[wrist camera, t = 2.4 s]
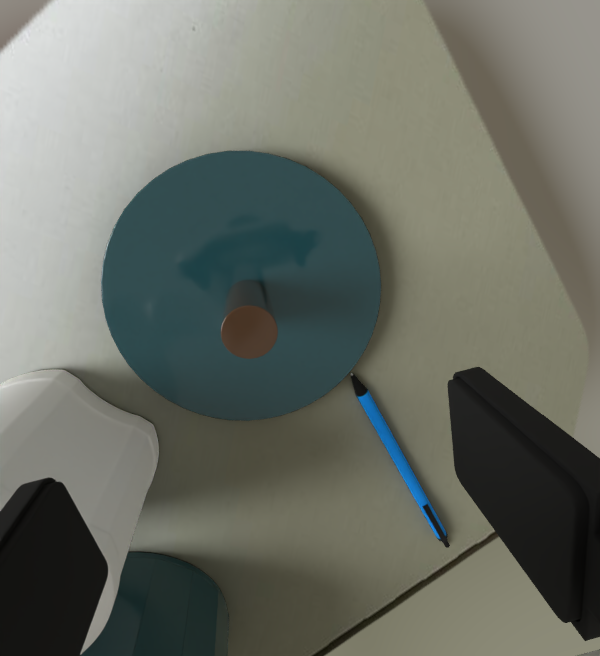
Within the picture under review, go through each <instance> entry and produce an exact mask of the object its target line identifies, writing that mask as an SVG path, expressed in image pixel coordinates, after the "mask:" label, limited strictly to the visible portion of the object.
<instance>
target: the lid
mask: <svg viewBox="0 0 600 656" xmlns="http://www.w3.org/2000/svg"><path fill="white" fill-rule="evenodd" d="M101 291H102V303H103V308H104V313H105V318H106V321H107V324H108V327H109V330H110V332H111V335H112V337H113V339H114V341H115V343H116V345H117V347H118V349H119V351H120V353H121V354H122V356H123V357H124V359H125V360H126V362H127V363H128V364H129V366H130V367H131V368H132V369H133V370H134V372H135V373H136V374H137V375H138V376H139V377H140V378H141V379H142V380H143V381H144V382H145V383H146V384H147V385H148V386H150V387H151V388H152V389H153V390H154V391H156V392H157V393H159V394H160V395H161V396H163V397H164V398H166V399H167V400H169V401H171V402H173V403H175V404H177V405H179V406H180V407H182V408H185V409H187V410H190V411H193V412H195V413H198V414H201V415H205V416H209V417H213V418H218V419H226V420H243V421H249V420H260V419H267V418H272V417H277V416H281V415H284V414H287V413H290V412H293V411H296V410H298V409H300V408H302V407H305V406H307V405H309V404H311V403H312V402H314V401H316V400H317V399H319V398H321V397H322V396H324V395H325V394H326V393H328V392H329V391H330V390H332V389H333V388H334V387H335V386H336V385H338V384H339V383H340V382H341V381H342V380H343V379H344V378H345V377H346V376H347V375H348V373H349V372H350V371H351V370H352V368H353V367H354V366H355V365H356V363H357V362H358V360H359V359H360V357H361V355H362V354H363V352H364V351H365V349H366V347H367V345H368V342H369V340H370V338H371V336H372V334H373V330H374V327H375V324H376V321H377V317H378V312H379V306H380V297H381V278H380V267H379V262H378V258H377V253H376V250H375V247H374V244H373V241H372V238H371V236H370V233H369V231H368V229H367V228H366V226H365V224H364V222H363V220H362V218H361V217H360V215H359V214H358V212H357V211H356V209H355V208H354V207H353V205H352V204H351V203H350V201H349V200H348V199H347V198H346V197H345V196H344V195H343V194H342V193H341V192H340V191H339V190H338V189H337V188H336V187H335V186H334V185H332V184H331V183H330V182H329V181H327V180H326V179H325V178H324V177H322V176H321V175H319V174H317V173H316V172H314V171H312V170H311V169H309V168H308V167H306V166H303V165H301V164H299V163H297V162H294V161H292V160H290V159H287V158H283V157H280V156H276V155H273V154H269V153H262V152H254V151H224V152H217V153H211V154H206V155H202V156H199V157H196V158H193V159H189V160H187V161H184V162H182V163H180V164H178V165H176V166H174V167H172V168H170V169H168V170H166V171H165V172H163V173H162V174H160V175H159V176H157V177H156V178H154V179H153V180H152V181H151V182H149V183H148V184H147V185H146V186H145V187H144V188H143V189H142V190H141V191H140V192H138V193H137V194H136V196H135V197H134V198H133V199H132V201H131V202H130V203H129V204H128V206H127V207H126V208H125V209H124V211H123V213H122V214H121V216H120V218H119V219H118V221H117V223H116V224H115V226H114V229H113V231H112V233H111V236H110V238H109V241H108V243H107V247H106V251H105V255H104V259H103V265H102V276H101Z"/></svg>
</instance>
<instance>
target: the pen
mask: <svg viewBox="0 0 600 656" xmlns="http://www.w3.org/2000/svg"><path fill="white" fill-rule="evenodd" d="M350 374H351V379H352V383H353V386H354V389H355V393H356V396H357V398H358V400H359V401H360V403H361V405H362V407H363V408H364V410H365V412H366V414H367V415H368V417H369V419H370V421H371V422H372V424H373V426H374V428H375V429H376V431H377V433H378V435H379V436H380V438H381V440H382V442H383V444H384V445H385V447H386V449H387V451H388V452H389V454H390V456H391V458H392V459H393V461H394V463H395V465H396V466H397V468H398V470H399V472H400V473H401V475H402V477H403V479H404V481H405V482H406V484H407V486H408V488H409V489H410V491H411V493H412V495H413V496H414V498H415V500H416V502H417V503H418V505H419V507H420V509H421V510H422V512H423V514H424V516H425V518H426V519H427V521H428V523H429V525H430V526H431V528H432V530H433V532H434V533H435V535H436V537H437V539H438V540H439V541H442V542H443V543H444V545H445V547H447V548H448V547H449V546H450V545H449V543H448V541H447V533H446V531H445V529H444V527H443V526H442V524H441V522H440V520H439V518H438V517H437V515H436V513H435V511H434V509H433V507H432V506H431V504H430V502H429V500H428V498H427V497H426V495H425V493H424V491H423V489H422V487H421V486H420V484H419V482H418V480H417V478H416V477H415V475H414V473H413V471H412V469H411V467H410V466H409V464H408V462H407V460H406V458H405V457H404V455H403V453H402V451H401V449H400V447H399V446H398V444H397V442H396V440H395V438H394V437H393V435H392V433H391V431H390V429H389V427H388V426H387V424H386V422H385V420H384V418H383V417H382V415H381V413H380V411H379V409H378V407H377V406H376V404H375V402H374V400H373V398H372V397H371V395H370V393H369V391H368V389H367V388H366V387H365V386H364V385H363V384H362V383H361V382H360V381H359V379H358V378H357V377H356V376H355V375H354V374H352V373H350Z"/></svg>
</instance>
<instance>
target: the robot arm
mask: <svg viewBox="0 0 600 656" xmlns="http://www.w3.org/2000/svg"><path fill="white" fill-rule="evenodd" d="M448 396H449V407H450V419H451V431H452V442H453V454H454V466H455V471H456V474H457V477H458V479H459V481H460V483H461V484H462V486H463V487H464V488H465V490H466V491H467V492H468V494H469V495H470V497H471V498H472V499H473V501H474V502H475V504H476V505H477V506H478V508H479V509H480V510H481V512H482V513H483V515H484V516H485V517H486V519H487V520H488V521H489V523H490V524H491V526H492V527H493V528H494V530H495V531H496V533H497V534H498V535H499V537H500V538H501V539H502V541H503V542H504V543H505V545H506V546H507V548H508V549H509V551H510V552H511V553H512V555H513V556H514V557H515V559H516V560H517V562H518V563H519V564H520V566H521V567H522V569H523V570H524V571H525V572H526V574H527V575H528V577H529V578H530V580H531V581H532V582H533V584H534V585H535V587H536V588H537V589H538V591H539V592H540V593H541V595H542V596H543V598H544V599H545V600H546V602H547V603H548V605H549V606H550V607H551V608H552V610H553V611H554V613H555V614H556V615H557V616H558V618H559V619H560V620H561V621H563V622H565V623H567V622H571V623H572V624H573V626H574V627H575V628H576V630H577V631H578V632H579V634H580V635H581V636H582V638H583V639H584V640H585V641H587V640H590V639H593V638H597V637H600V458H598V457H597V456H596V455H595V454H593V453H592V452H591V451H589V450H588V449H587V448H585V447H584V446H583V445H582V444H580V443H579V442H578V441H576V440H575V439H574V438H572V437H571V436H570V435H569V434H567V433H566V432H565V431H563V430H562V429H561V428H559V427H558V426H557V425H555V424H554V423H553V422H552V421H550V420H549V419H548V418H546V417H545V416H544V415H542V414H541V413H539V412H538V411H537V410H535V409H534V408H533V407H531V406H530V405H529V404H528V403H526V402H525V401H524V400H522V399H521V398H520V397H518V396H517V395H516V394H515V393H513V392H512V391H511V390H509V389H508V388H507V387H506V386H504V385H503V384H502V383H500V382H499V381H498V380H496V379H495V378H494V377H493V376H491V375H490V374H489V373H487V372H486V371H485V370H483V369H482V368H480V367H475V368H471V369H467V370H463V371H460V372H456V373H455V374H454V376H453V380H449V381H448ZM107 577H108V564H107V561H106V559H105V557H104V556H103V554H102V552H101V550H100V548H99V546H98V545H97V543H96V541H95V539H94V537H93V536H92V534H91V532H90V530H89V528H88V527H87V525H86V523H85V521H84V519H83V518H82V516H81V514H80V512H79V510H78V509H77V507H76V505H75V503H74V501H73V499H72V498H71V496H70V494H69V492H68V490H67V489H66V487H65V485H64V484H63V483H62V482H57V481H56V480H55V479H53V478H49V477H48V478H44V479H40V480H36V481H33V482H29V483H25V484H23V485H21V486H20V487H19V488H18V489H17V490H16V491H15V493H14V494H13V495H12V496H11V498H10V499H9V500H8V502H7V503H6V504H5V506H4V507H3V508H2V510H1V511H0V656H80V653H81V651H82V648H83V645H84V642H85V639H86V637H87V634H88V631H89V628H90V625H91V623H92V620H93V617H94V614H95V611H96V609H97V606H98V603H99V600H100V597H101V595H102V592H103V589H104V586H105V584H106V581H107ZM578 656H600V650H596V651H592V652H589V653H585V654H581V655H578Z"/></svg>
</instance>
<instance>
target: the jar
mask: <svg viewBox="0 0 600 656" xmlns="http://www.w3.org/2000/svg"><path fill="white" fill-rule="evenodd" d="M158 458H159V444H158V438H157V434H156V431H155V428H154V425H153V424H152V423H150V422H149V421H147V420H146V419H144V418H142V417H141V416H138V415H134V414H131V413H128V412H126V411H123V410H121V409H119V408H117V407H115V406H113V405H111V404H109V403H107V402H106V401H104V400H103V399H101V398H100V397H98V396H97V395H96V394H94V393H93V392H92V391H91V390H89V389H88V388H87V387H86V386H85V385H84V384H83V383H82V382H81V380H80V379H78V378H77V377H75V376H74V375H72V374H70V373H69V372H67V371H65V370H57V369H54V370H40V371H34V372H29V373H25V374H22V375H19V376H16V377H13V378H11V379H9V380H7V381H5V382H3V383H1V384H0V511H1V510H2V508H3V507H4V506H5V504H6V503H7V502H8V500H9V499H10V498H11V496H12V495H13V494H14V493H15V491H16V490H17V489H18V488H19V487H20V486H21V485H23V484H25V483H29V482H33V481H36V480H40V479H44V478H48V477H49V478H53V479H55V480H56V481H57V482H62V483H63V484H64V485H65V487H66V489H67V490H68V492H69V494H70V496H71V498H72V499H73V501H74V503H75V505H76V507H77V509H78V510H79V512H80V514H81V516H82V518H83V519H84V521H85V523H86V525H87V527H88V528H89V530H90V532H91V534H92V536H93V537H94V539H95V541H96V543H97V545H98V546H99V548H100V550H101V552H102V554H103V556H104V557H105V559H106V561H107V564H108V577H107V581H106V584H105V586H104V589H103V592H102V595H101V597H100V600H99V603H98V606H97V609H96V611H95V614H94V617H93V620H92V623H91V625H90V628H89V631H88V634H87V637H86V639H85V642H84V645H83V648H82V651H81V653H80V655H81V654H82V653H83V652H84V651H85V650H86V649H87V648H88V647H89V646H90V645H91V644H92V643H93V642H94V641H95V640H96V638H97V637H98V636H99V635H100V633H101V632H102V630H103V628H104V627H105V625H106V623H107V621H108V619H109V616H110V614H111V611H112V608H113V605H114V601H115V598H116V595H117V592H118V588H119V582H120V575H121V572H122V569H123V566H124V563H125V560H126V556H127V553H128V550H129V547H130V544H131V541H132V538H133V535H134V531H135V528H136V525H137V522H138V519H139V516H140V513H141V510H142V506H143V503H144V500H145V497H146V494H147V491H148V489H149V487H150V485H151V483H152V480H153V477H154V474H155V471H156V468H157V464H158Z"/></svg>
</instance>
